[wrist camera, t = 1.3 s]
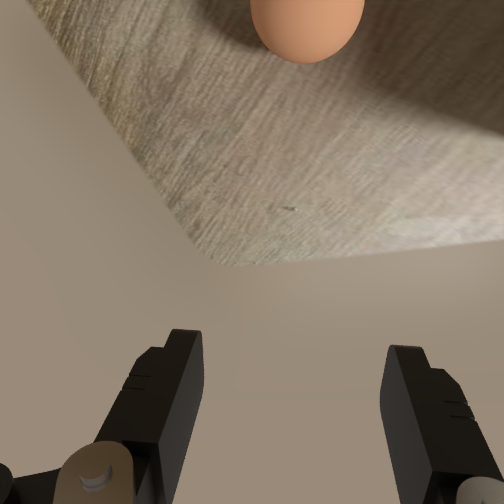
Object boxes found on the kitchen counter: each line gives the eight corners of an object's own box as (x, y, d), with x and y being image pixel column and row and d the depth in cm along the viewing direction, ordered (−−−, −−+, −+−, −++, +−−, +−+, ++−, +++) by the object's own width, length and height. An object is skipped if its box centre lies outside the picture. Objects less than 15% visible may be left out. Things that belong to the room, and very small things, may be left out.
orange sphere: (345, -74, 21) (359, -109, 16) (366, 43, 23) (384, 42, 18) (242, -32, 22) (226, -54, 17) (271, 74, 24) (264, 82, 19)
